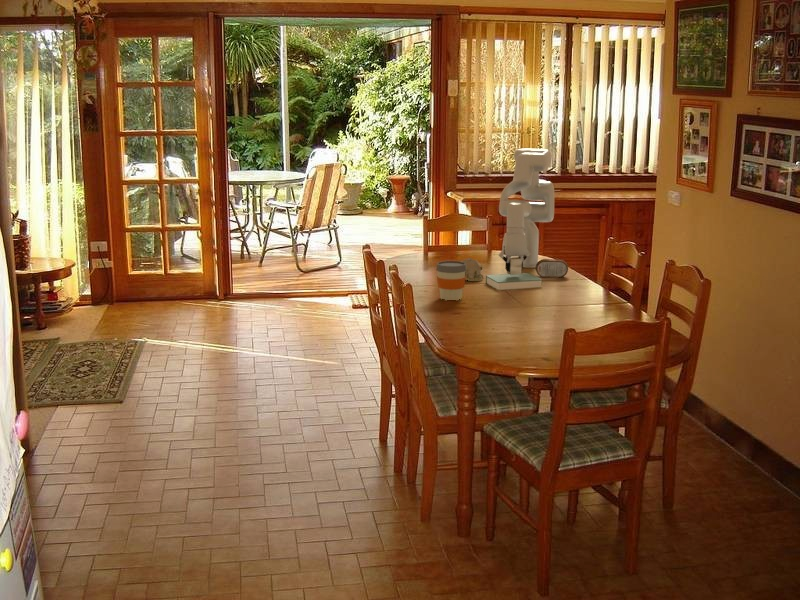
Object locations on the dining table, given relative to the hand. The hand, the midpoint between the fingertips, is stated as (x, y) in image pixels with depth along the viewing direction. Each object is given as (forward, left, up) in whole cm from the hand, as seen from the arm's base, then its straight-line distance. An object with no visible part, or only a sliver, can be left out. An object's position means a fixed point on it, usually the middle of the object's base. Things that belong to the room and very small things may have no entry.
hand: (514, 270), depth 418 cm
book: (0, 0, -7) cm, 7 cm away
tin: (-12, +24, -7) cm, 28 cm away
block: (0, 0, -2) cm, 2 cm away
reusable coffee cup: (+16, -35, -7) cm, 39 cm away
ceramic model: (-19, -14, -7) cm, 25 cm away
